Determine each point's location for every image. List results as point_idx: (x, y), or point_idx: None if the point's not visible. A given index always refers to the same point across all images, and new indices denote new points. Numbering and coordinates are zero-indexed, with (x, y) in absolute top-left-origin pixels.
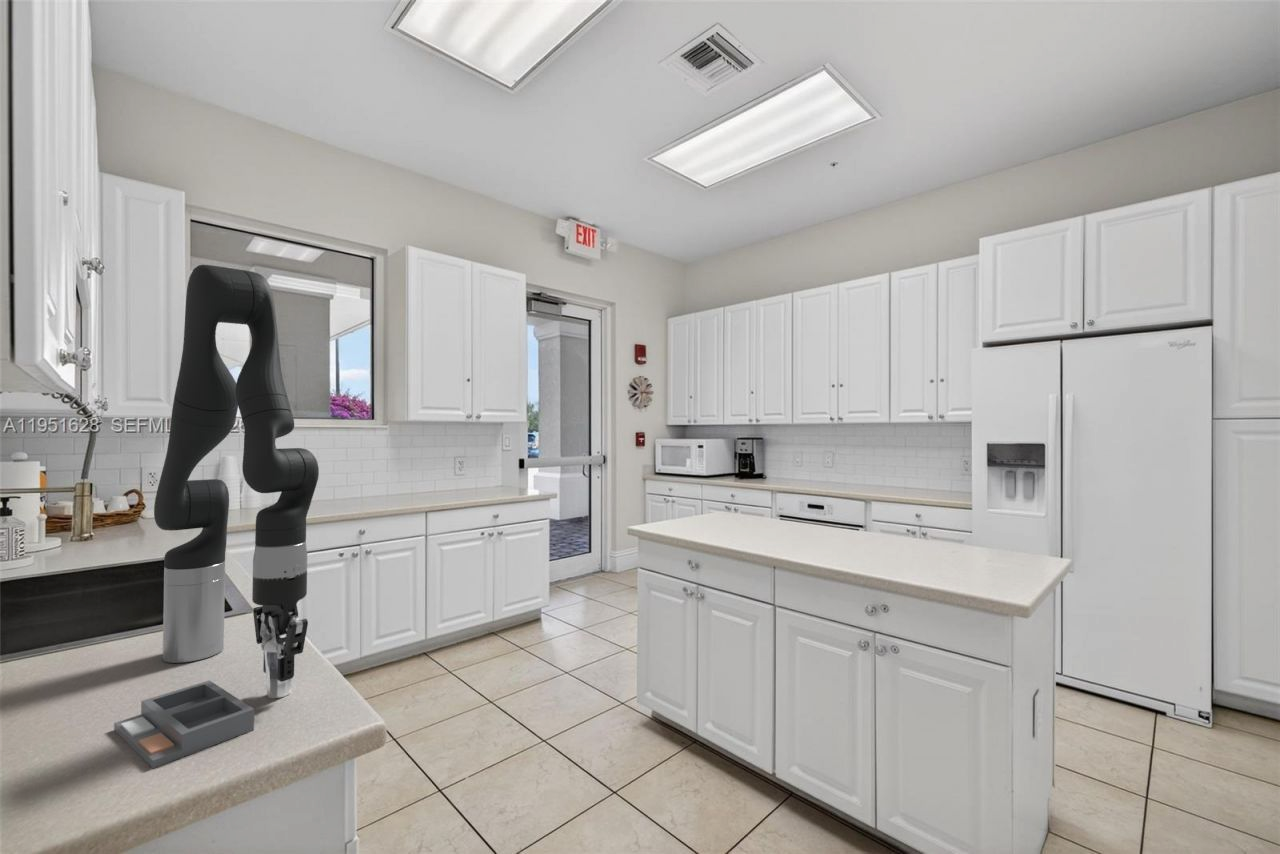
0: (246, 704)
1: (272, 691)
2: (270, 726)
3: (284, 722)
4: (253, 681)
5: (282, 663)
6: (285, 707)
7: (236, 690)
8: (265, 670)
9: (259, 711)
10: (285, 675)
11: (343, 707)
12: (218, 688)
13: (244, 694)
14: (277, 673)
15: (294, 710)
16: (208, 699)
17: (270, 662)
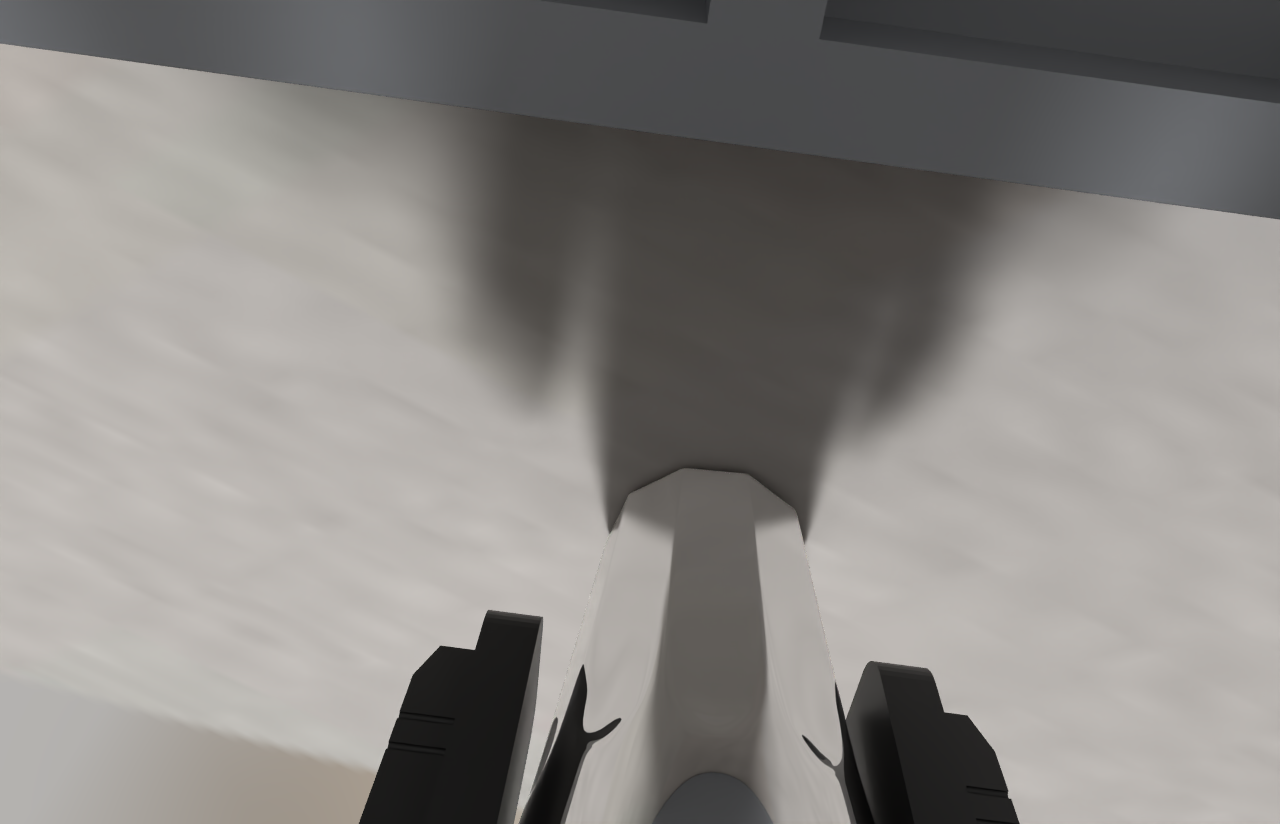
0: (149, 58)
1: (657, 515)
2: (53, 137)
3: (50, 254)
4: (1224, 595)
5: (420, 821)
6: (381, 427)
7: (1224, 427)
8: (881, 686)
9: (506, 271)
10: (409, 685)
11: (3, 611)
12: (1130, 161)
13: (1044, 412)
14: (525, 677)
15: (249, 428)
16: (1245, 77)
17: (631, 787)
